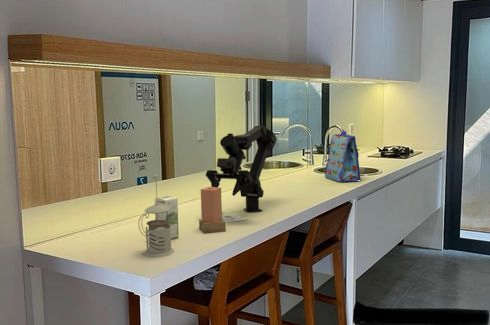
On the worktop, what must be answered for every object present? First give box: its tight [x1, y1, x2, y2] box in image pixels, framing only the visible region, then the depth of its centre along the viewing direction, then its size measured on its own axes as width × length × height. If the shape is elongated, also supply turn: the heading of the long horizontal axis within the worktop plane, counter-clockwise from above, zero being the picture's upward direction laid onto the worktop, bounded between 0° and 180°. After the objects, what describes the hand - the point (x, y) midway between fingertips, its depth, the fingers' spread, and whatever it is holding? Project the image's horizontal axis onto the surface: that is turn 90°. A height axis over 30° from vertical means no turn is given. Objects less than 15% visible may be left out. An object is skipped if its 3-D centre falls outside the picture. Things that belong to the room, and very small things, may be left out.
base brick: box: [198, 218, 227, 234], centre depth 186 cm, size 8×8×4 cm
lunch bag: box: [324, 130, 362, 183], centre depth 294 cm, size 22×14×29 cm, turn 15°
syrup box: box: [154, 195, 179, 240], centre depth 176 cm, size 6×6×14 cm
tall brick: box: [200, 186, 223, 223], centre depth 185 cm, size 6×6×12 cm
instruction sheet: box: [222, 213, 248, 224], centre depth 204 cm, size 12×9×1 cm
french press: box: [138, 174, 176, 258], centre depth 159 cm, size 10×12×25 cm
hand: (222, 194), depth 193 cm, fingers open, 9 cm apart
